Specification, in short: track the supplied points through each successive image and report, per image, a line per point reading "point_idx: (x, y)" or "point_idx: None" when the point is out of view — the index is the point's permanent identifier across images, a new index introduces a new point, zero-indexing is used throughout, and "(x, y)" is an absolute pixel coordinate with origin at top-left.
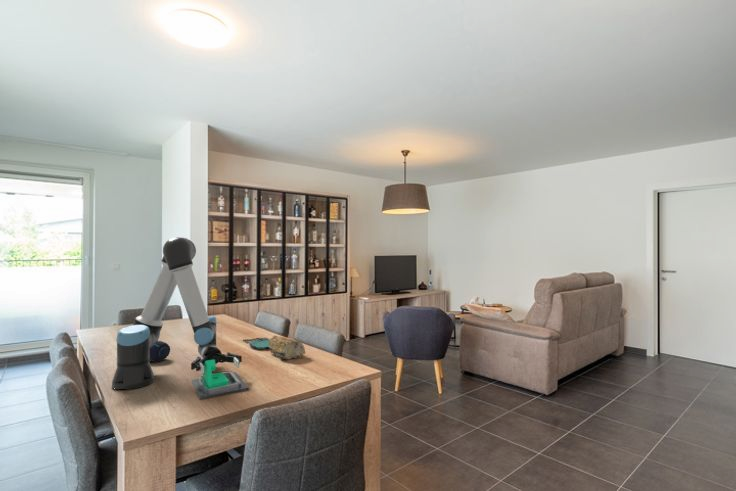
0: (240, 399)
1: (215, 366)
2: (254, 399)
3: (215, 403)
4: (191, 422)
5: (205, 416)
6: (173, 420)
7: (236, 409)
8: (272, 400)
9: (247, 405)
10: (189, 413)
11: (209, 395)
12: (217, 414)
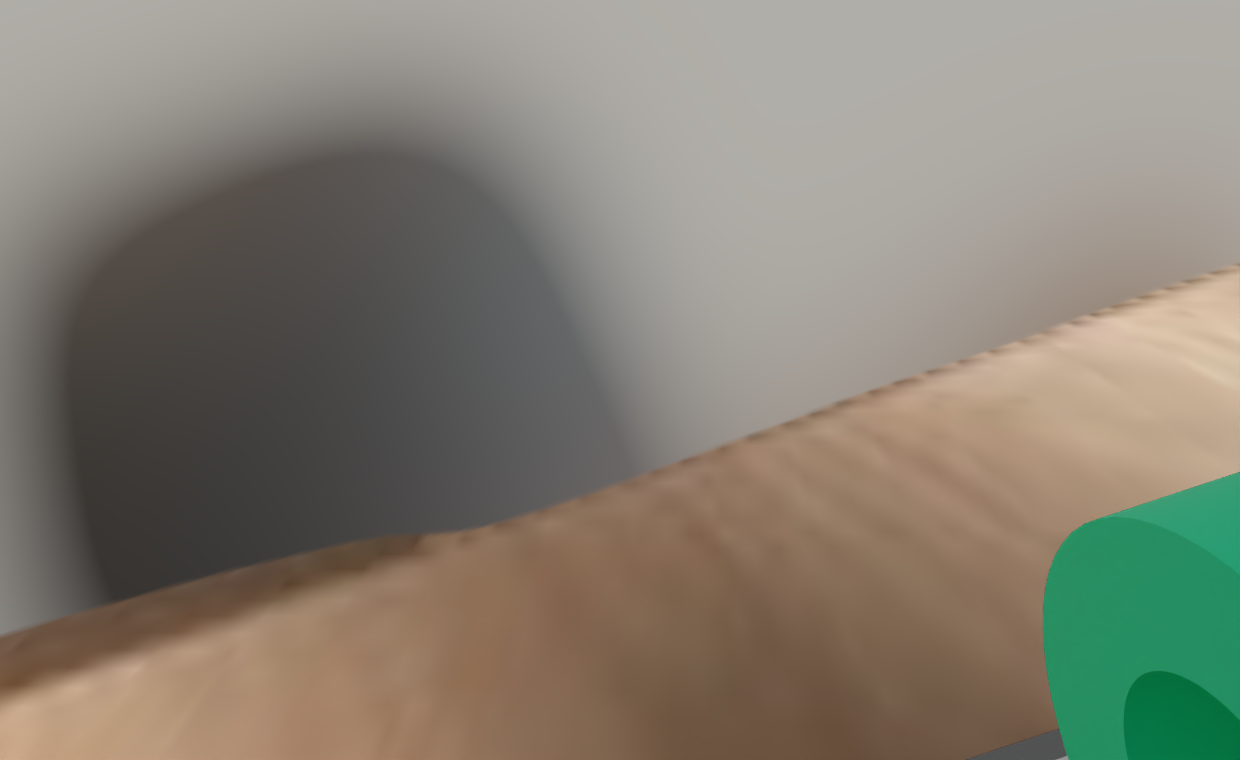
0: (497, 701)
1: (1048, 668)
2: (318, 693)
3: (860, 617)
4: (997, 363)
5: (895, 424)
6: (1223, 363)
7: (582, 518)
8: (141, 663)
9: (450, 578)
10: (1122, 446)
11: (1043, 743)
12: (776, 451)
